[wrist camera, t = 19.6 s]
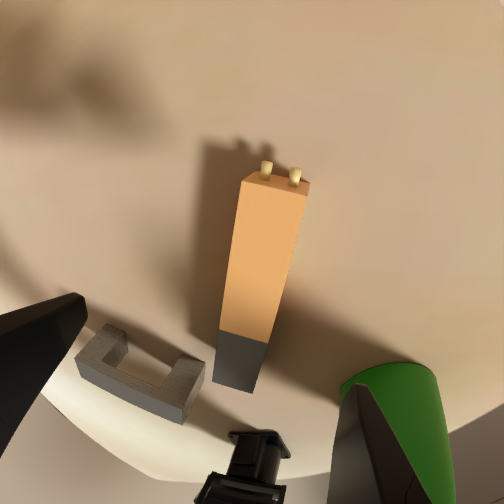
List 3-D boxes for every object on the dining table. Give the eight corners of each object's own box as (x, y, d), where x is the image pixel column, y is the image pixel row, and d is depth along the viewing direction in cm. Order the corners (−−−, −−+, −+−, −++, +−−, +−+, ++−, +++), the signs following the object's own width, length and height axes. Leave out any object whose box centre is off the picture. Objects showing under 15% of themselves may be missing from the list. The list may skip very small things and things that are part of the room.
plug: (261, 364, 24) (252, 393, 21) (224, 354, 25) (211, 381, 22) (313, 167, 17) (311, 177, 14) (258, 155, 17) (244, 161, 14)
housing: (203, 381, 27) (182, 425, 22) (110, 343, 29) (81, 377, 24) (205, 362, 26) (181, 409, 21) (106, 323, 27) (74, 358, 22)
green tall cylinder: (323, 405, 25) (287, 598, 8) (375, 348, 21) (370, 607, 3) (400, 425, 25) (397, 589, 7) (456, 376, 21) (485, 569, 3)
